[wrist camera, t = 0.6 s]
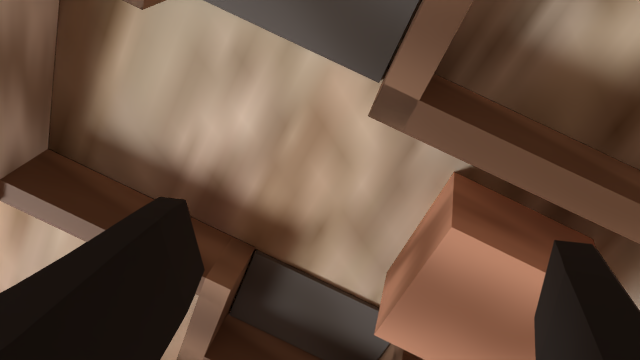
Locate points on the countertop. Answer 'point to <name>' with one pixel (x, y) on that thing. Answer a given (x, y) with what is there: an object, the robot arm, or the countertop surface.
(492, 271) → the block
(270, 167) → the countertop surface
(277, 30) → the trap lane
